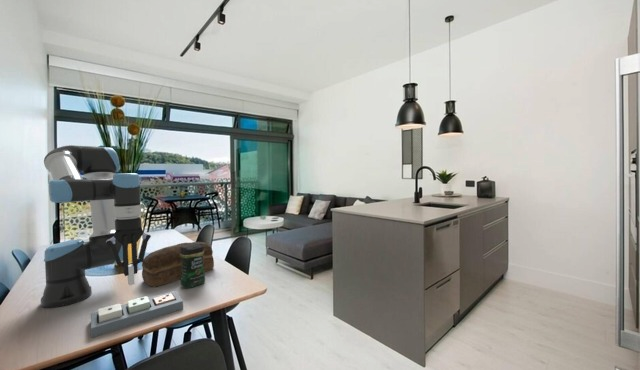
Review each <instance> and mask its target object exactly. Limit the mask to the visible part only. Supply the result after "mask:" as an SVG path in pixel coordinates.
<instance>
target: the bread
mask: <svg viewBox="0 0 640 370" xmlns="http://www.w3.org/2000/svg"><path fill="white" fill-rule="evenodd" d="M195 243H201V244H203V247H204V254H203V268H204V273H205V272H207V271H211V270H213V269H214V266H215V264H214V263H215V262H214V261H215V260H214V257H213V252H214V251H213V248H212V246H211V245H210V243H207V242H205V241H204V242H203V241H192V242H182V243H177V244H174V245H170V246H166V247H163V248H160V249H158V250H154V251H152V252H149V253H148V254H147V255H146V256H144V260H143V262H141V267H142V270H141V278H142V280H143V282H144V283H145V284H147V285H148V286H151V287H152V288H153V287H160V286H163V285H165V284H168V283H172V282H175V281H179V280H181V275H182V258H181V256H180V251H181V247H182V246H185V245H190V244H195Z"/></svg>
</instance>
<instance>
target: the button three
mask: <svg viewBox="0 0 640 370" xmlns="http://www.w3.org/2000/svg"><path fill="white" fill-rule="evenodd" d="M153 300H154V305H155V306H158V305H161V304H164V303H168V302H171V301H175V298H174V297H173V295H172V294H171V293H170V294H166V295H163V296H159V297H156V298H153Z"/></svg>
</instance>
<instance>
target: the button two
mask: <svg viewBox="0 0 640 370" xmlns="http://www.w3.org/2000/svg"><path fill="white" fill-rule="evenodd" d="M148 298H149V297H148V296H147V295H146V296H141V297H139V298H134V299H130V300H128V301H127V303H126V304H127V305H128V311H129V314H130V313H134V312H137V311H140V310H144V309H147V308H150V301H149V299H148Z"/></svg>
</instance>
